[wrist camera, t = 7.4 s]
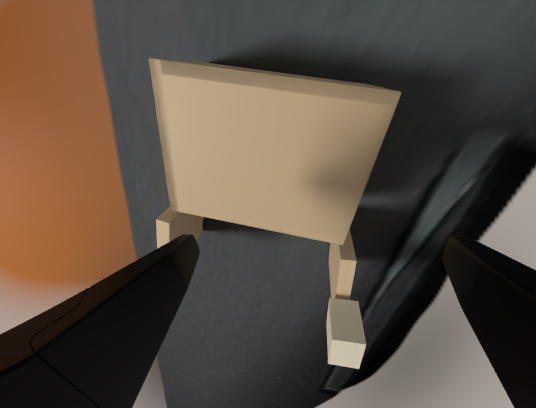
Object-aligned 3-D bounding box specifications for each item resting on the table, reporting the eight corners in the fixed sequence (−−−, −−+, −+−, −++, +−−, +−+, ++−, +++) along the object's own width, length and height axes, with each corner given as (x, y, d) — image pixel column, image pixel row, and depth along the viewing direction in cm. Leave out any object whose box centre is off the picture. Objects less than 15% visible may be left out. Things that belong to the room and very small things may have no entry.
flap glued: (211, 185, 22) (145, 259, 13) (205, 235, 25) (150, 318, 17) (192, 179, 22) (113, 248, 13) (189, 229, 25) (125, 309, 17)
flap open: (323, 260, 24) (328, 363, 15) (328, 208, 21) (337, 303, 12) (343, 261, 23) (359, 368, 15) (351, 209, 20) (376, 308, 12)
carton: (205, 62, 17) (148, 58, 11) (370, 84, 15) (401, 92, 10) (208, 173, 21) (170, 210, 16) (335, 196, 20) (343, 245, 15)
